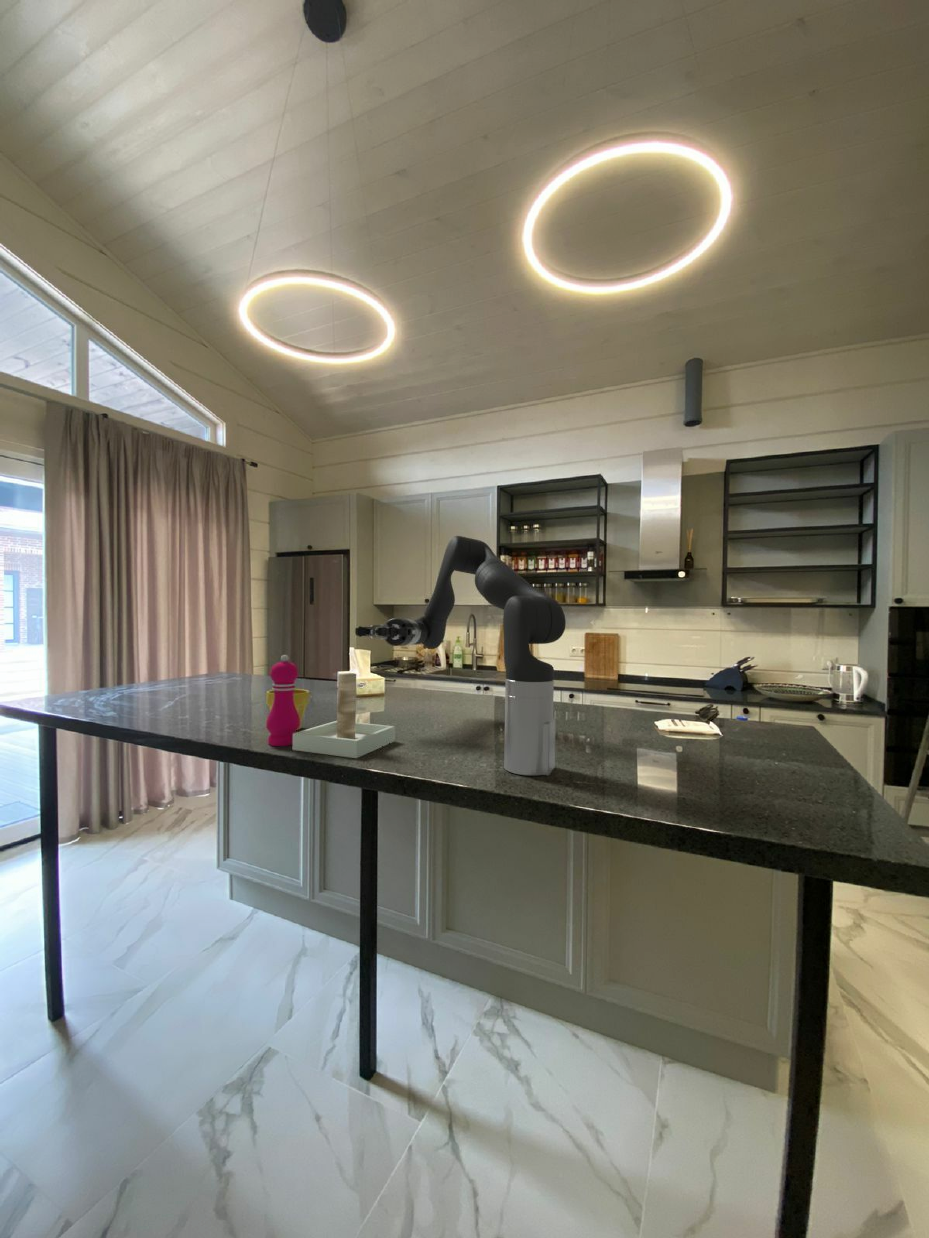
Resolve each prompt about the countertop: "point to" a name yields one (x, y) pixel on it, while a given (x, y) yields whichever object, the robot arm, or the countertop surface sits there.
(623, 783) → the countertop surface
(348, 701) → the peg
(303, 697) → the plant pot
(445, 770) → the countertop surface
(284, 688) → the pepper mill
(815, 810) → the countertop surface
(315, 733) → the bin
